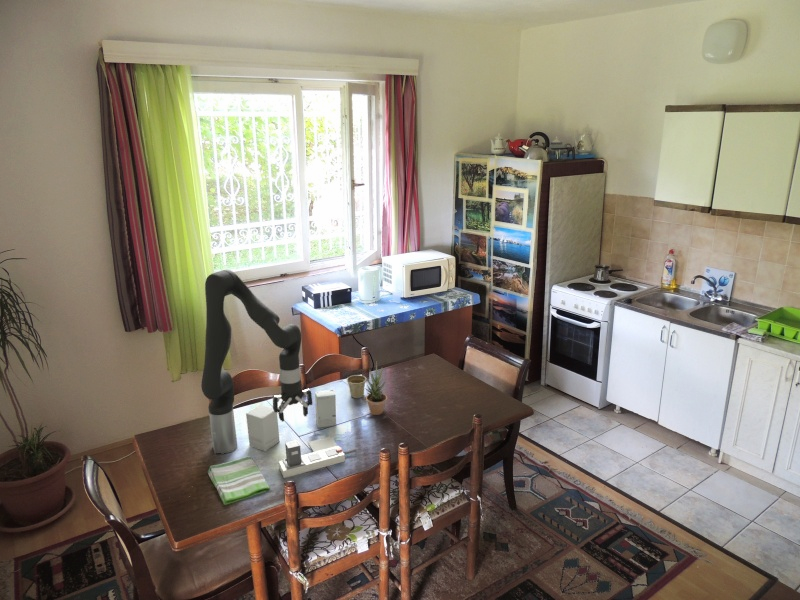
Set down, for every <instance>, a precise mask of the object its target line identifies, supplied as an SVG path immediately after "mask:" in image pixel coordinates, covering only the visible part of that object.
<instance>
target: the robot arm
mask: <svg viewBox="0 0 800 600" xmlns="http://www.w3.org/2000/svg"><path fill="white" fill-rule="evenodd" d="M204 284H205V285H204V292H205V304H206V305H205V307H206V312H205V313H206V316H205V317H206V324H205V340H204V342H205V343H204V344H205V347H204V349H205V350H204V362H203V363H204V364H203V365H204V366H203V370H202V375H201V377H202V378H201V385H200V386H201V391H202V394H203V395H204V396H205V398H207V399H209V400H210V402H209V404H208V414H209V423H210V429H209V430H210V434H211V436H210V437H211V443H212V449H213V451H214V454H215V453H221V454H220V455H224V453H226V454H229V452H230V453H232V452H234V451H235V450H237V448H238V439H237V431H236V430H237V429H236V422H235V411H234V403H235V391H234V388H235V387H234V380H233V377H232V375H231V374H230V373H229V372H228V370H226V369H223V365H224V363H225V360H226V358H227V355H228V353H229V350H230V349H231V345H232V326H231V324H230V322H229V319H228V318H227V316H226V315H225V311H224V308H225V307H224V305H225V303H224V302H225V297H227V296H229V295H232V296H234V297H235V298H236V299H238V300H239V301H240V302H242V304H243V307H244V309H245V311H246V313H247V315H248V316H249V318H250V319H251V321H253V322H254V323H255V324H256V325H258V326H259V327H260V328H261V329H262V330H264V332H265V333H266V335H267V337H268V338H269V339H270V340H271V342H272V343H273V344H274V346H276V347H277V348H281V349H283V350H281V352H280V353H279V356H278V360H279V361H278V362H279V380H280V394H279V395H277V394H273V395H272V408H273V410H274V412H277V413H278V419H279V420H280V421H281V422H285V417H284V416H285V415H284V414H285V413H284V411H285V409H286V408H287V407H288V406H292V405H297V404H298V403H300V404H301V405H302V413H303V416H304V417H308V414H309V409H308V407H309V406H312V405H313V398H312V397H313V396H312V391H311V389H310V388H309V387H307V388H306V389H304V390H303V383H302V371H301V367H300V366H301V365H300V357H299V355H300V351H301V346H302V345H301V344H302V333H301V330H300V327H299V326H297V325H296V324H294V323H290V324H289V323H288V324H286V325H285V326H283V327H281V326H279V324H280V320H281V319H280V317H279V315H278V314H277V313H275V312H274V311H273V310H272V309H271V308H269V307H268V306H267V305H266V304H265V303H263V302H262V301H261V300H260V299H259V297H257V296H256V295H255V294H254V292H253V291H252V290H251V289H250V288H249V287H248V286H247V285H246V283H245V282H244V281H243V280H242V279H241V277H239V276H238V274H236V273H235V272H234V271H233V270H231V269H222V270H220V271H216V272H213V273H211V274H209V275H207V277H206V278H205V283H204ZM304 395H305V396H306V399H307V401H305V400H304V399H303V398H302V397H303V396H304ZM280 400H282V401H281V402H280ZM279 402H280V405H278V404H279Z"/></svg>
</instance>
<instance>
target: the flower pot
mask: <svg viewBox="0 0 800 600" xmlns="http://www.w3.org/2000/svg"><path fill="white" fill-rule="evenodd" d="M346 382H347V384H348V387H349V392H350V397H352V398H354V399H360V398H362V397H364V396H365V388H366V387H365V385H366V382H367V377H366V376H365V375H360V374H354V375H350V376H347V378H346Z"/></svg>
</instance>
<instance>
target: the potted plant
mask: <svg viewBox="0 0 800 600" xmlns="http://www.w3.org/2000/svg"><path fill="white" fill-rule="evenodd" d="M371 371H372V370H369V374H370V379H371V382H370V380H369V379H368V378H366V382H367V383H368V384H367V385H366V387H367V388H366V387H364V390H366V391H367V395H366V397H365V402H366V403H367V405H368V409H369V413H370V414H371V415H374V416H378V415H382V414H383V412H384V409H385V406H386V403H387V401H388V396H387V395H386V394H384V393H383V390H382V389H383V388H384V386H385V384H386V381H387V380H385V381H384V382H383V378H382V374H383V372H384V369H383V368H381V369H380V372H379V373H378V361H376V362H375V377H374V374H373V372H371ZM382 382H383V383H382ZM381 384H382V385H381Z"/></svg>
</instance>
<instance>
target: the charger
mask: <svg viewBox="0 0 800 600" xmlns="http://www.w3.org/2000/svg"><path fill="white" fill-rule="evenodd" d="M284 446H285V458H286V459H287V463H288V465H289V467H291V466H295V465H299V464H302V463H301V455H302V453H301V445H300V443H299V441H298V440H297V439H294V440H290V441H286V442H285V443H284Z"/></svg>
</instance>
